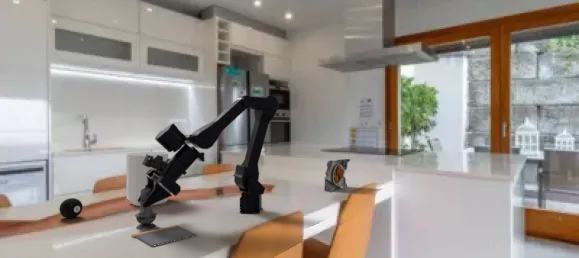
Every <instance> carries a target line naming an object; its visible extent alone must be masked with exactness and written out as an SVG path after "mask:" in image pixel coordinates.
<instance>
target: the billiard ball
mask: <svg viewBox="0 0 579 258" xmlns="http://www.w3.org/2000/svg"><path fill="white" fill-rule="evenodd" d="M58 210H59V214H60V215H61V216H62V217H63V218H65V217H66V219H73V217H74V218H76V217H78V216H79V215H81V214H82V211H83V203H82V201H81V200H80V199H78V198H76V197H75V198H66V199H65V200H63V201H62V202H61V203H60V205H59V209H58Z"/></svg>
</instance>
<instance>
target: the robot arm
mask: <svg viewBox="0 0 579 258" xmlns="http://www.w3.org/2000/svg"><path fill="white" fill-rule="evenodd" d="M279 106H280V103H279V101H278V99H277V98H276V97H275V96H274V95H266V96H249V95H247V94H246V95H240V96H238V97H237V98H236V100H234V101H233V102H232V104H230V105H229V106H228V107H227V108H225V110H224V111H222V112H221V113H220V114H219V115H218V116H217V117H215V118H214V119H213V120H212V121H211V122H209V123H206V124H205V125H203V126H201V127H200V128H198V129H195V130H194V131H193V132H192V133H191V134H184V133H183V132H182V131H181V130H180V129H179V128H178V126H177V125H176V124H175V123H170V124H169V125H168V126H166V127H165V128H164V129H162V130H160V131H159V132H158V133H157V134H156V136H154V140H155V141H156V142H157V143H158V144H160V146H161V147H163V149H164V150H166V151H167V153H175V154H174V155H173V156H172V157H171V158H168V159H166V160H165V161H163V157H162V156H159V155H156V156H154V157H152V156H150V155H147V154H146V157H145V159H144V161H143V163H142V165H144V166H147V167H151V168H154V169H150V170H149V171H148V172H147V173H146V174H147V175H148V176H149V177H148V176H146V178H147V188H149V189H151V193H150V194H149V196H148V197H147V198H146V200H145V201H144V203H143V204H142V206H143V207H144V208H146V207H148V206H150V205H152V204H154V203H156V202H159V201H161V200H163V199H165V198H168V199H169V198H171V197H172V196H174V197H177V196H178V194H180V193H181V191H182V189H181V187H182V186H181V185H180V184H178V182H177V181H178V180H179V179H180V178H182V176H186V174H187V173H188V172H187V171H188V169H190V167H191V166H192V165H193V164H194V163H195V162H196V160H198V161H200V162H203V163H204V162H205V152H203V151H202V152H200V151H199V150H198V149H200V150H208V149H211V148H212V147H213V146H214V145H215V143H216V142H217V141H218V140H219V138H220V137H221V134H222V132H223V131H224V130H225V129H227V127H228V126H229V125H231V123H232V122H233V121H235V120H236V119H237V118H238V117H239V116H241V115H242V113H244V112H245V111H246V110H247V109H250V110H253V114H254V124H253V127H252V131H251V134H250V138H249V142H248V146H247V149H246V151H245V152H246V153H245V155H244V156H245V157H244V159H243V161H242V163H241V164H236V166H235V172H234V173H233V175H232V177H233V181H234V184H235V186H237V187H238V189H239V192H241V193H240V197H239V213H240V214H241V213H242V214H260V212H262V211H263V210H264V207H262V203H263V202H262V201H263V200H262V198H263V197H262V196H263V195H264V193H265V190H266V187H265V186H264V185H263V184H262V183H261V182H260V181H259V180H260V179H259V177H260V169H259V161H260V158H261V153H262V150H263V147H264V143H265V139H266V136H267V132H268V128H269V124H270V123H271V121H272V120H273V118H274V117H275V116H276V113H277V111H278V109H279ZM188 144H192V146H190V145H188ZM140 200H141V195H140V197H139V199H138V202H139V201H140ZM139 203H140V202H139ZM152 206H153V205H152Z"/></svg>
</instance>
